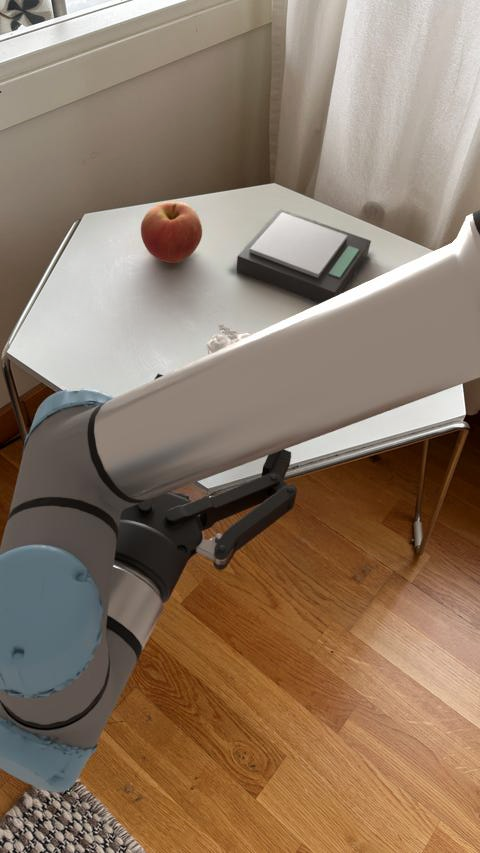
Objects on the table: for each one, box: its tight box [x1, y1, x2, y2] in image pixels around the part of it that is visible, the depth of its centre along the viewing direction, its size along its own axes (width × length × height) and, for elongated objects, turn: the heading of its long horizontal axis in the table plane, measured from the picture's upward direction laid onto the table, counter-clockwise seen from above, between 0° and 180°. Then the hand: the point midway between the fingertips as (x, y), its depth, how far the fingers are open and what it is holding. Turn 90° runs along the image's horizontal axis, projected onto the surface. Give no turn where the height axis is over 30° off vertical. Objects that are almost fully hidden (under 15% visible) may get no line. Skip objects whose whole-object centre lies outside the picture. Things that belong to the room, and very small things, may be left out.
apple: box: [140, 201, 203, 264], centre depth 93 cm, size 8×8×8 cm
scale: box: [235, 208, 372, 304], centre depth 96 cm, size 14×13×3 cm
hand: (224, 404), depth 70 cm, fingers open, 13 cm apart
